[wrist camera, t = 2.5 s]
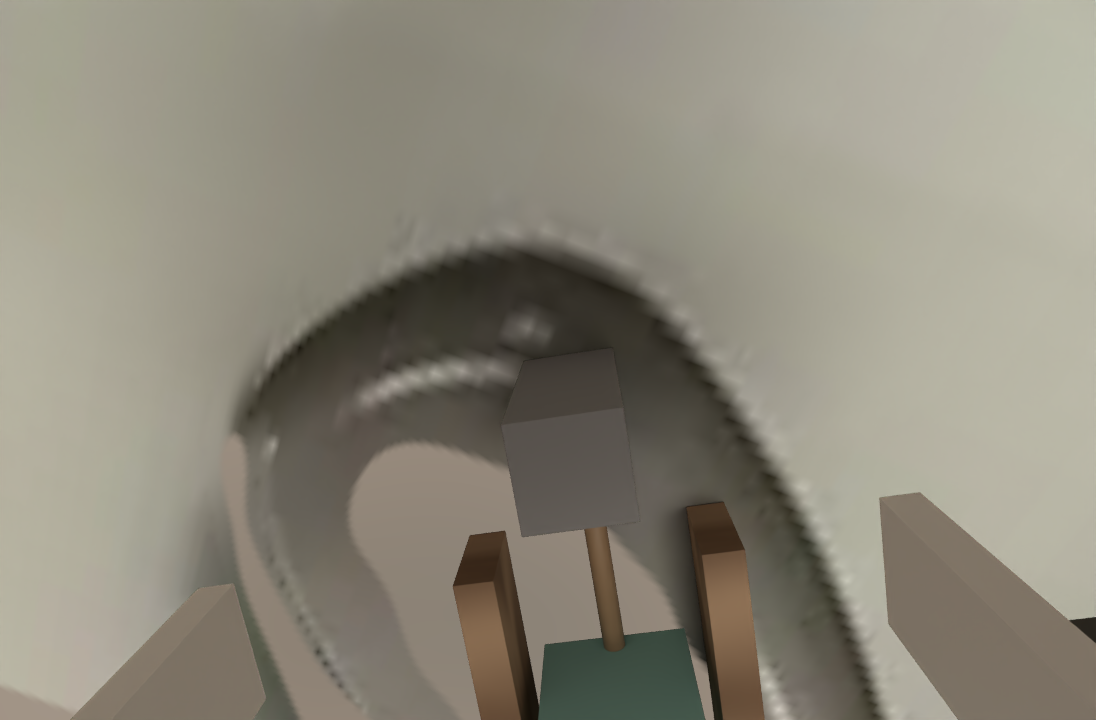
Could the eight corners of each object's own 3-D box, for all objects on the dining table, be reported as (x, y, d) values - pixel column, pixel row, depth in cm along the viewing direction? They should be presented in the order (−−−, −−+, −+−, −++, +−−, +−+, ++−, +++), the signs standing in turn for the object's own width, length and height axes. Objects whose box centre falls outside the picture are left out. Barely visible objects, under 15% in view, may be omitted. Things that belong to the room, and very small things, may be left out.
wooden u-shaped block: (469, 535, 30) (447, 601, 25) (723, 502, 29) (751, 564, 24) (524, 804, 33) (514, 910, 28) (757, 781, 32) (788, 887, 27)
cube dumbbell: (492, 365, 28) (457, 431, 21) (644, 342, 28) (668, 400, 20) (566, 761, 32) (561, 942, 24) (701, 748, 32) (738, 928, 24)
